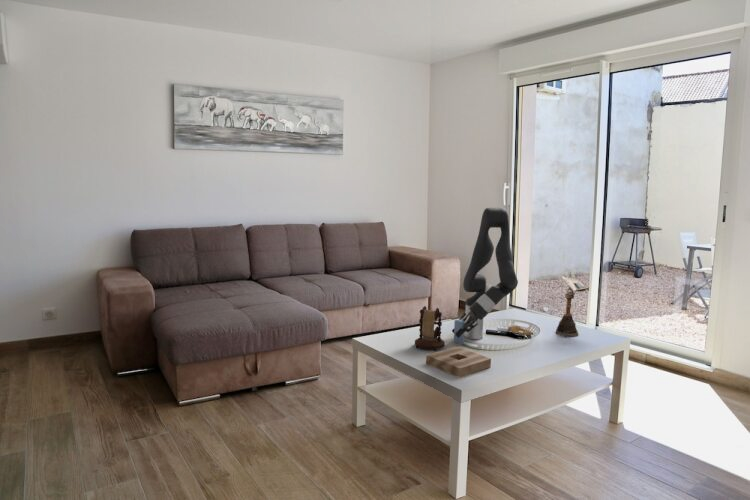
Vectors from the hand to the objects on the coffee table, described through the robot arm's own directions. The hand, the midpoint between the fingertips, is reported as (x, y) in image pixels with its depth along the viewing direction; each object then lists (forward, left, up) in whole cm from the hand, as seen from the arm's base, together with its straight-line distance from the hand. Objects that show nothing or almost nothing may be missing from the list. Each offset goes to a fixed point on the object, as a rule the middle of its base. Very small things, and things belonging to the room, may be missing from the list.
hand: (455, 334), depth 228 cm
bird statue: (+5, +87, -15) cm, 88 cm away
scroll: (-25, +10, -15) cm, 31 cm away
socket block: (+1, +2, -14) cm, 14 cm away
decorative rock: (-12, +63, -15) cm, 65 cm away
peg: (+1, +2, -4) cm, 4 cm away
